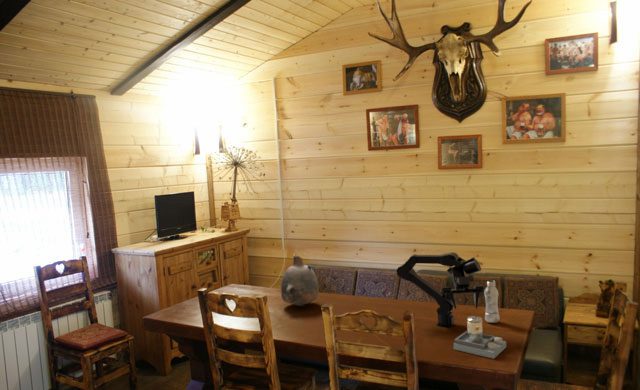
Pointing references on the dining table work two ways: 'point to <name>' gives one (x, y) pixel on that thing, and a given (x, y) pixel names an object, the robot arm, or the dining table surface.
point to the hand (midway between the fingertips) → (466, 308)
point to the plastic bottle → (491, 303)
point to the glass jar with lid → (474, 329)
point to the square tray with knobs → (480, 345)
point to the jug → (299, 284)
